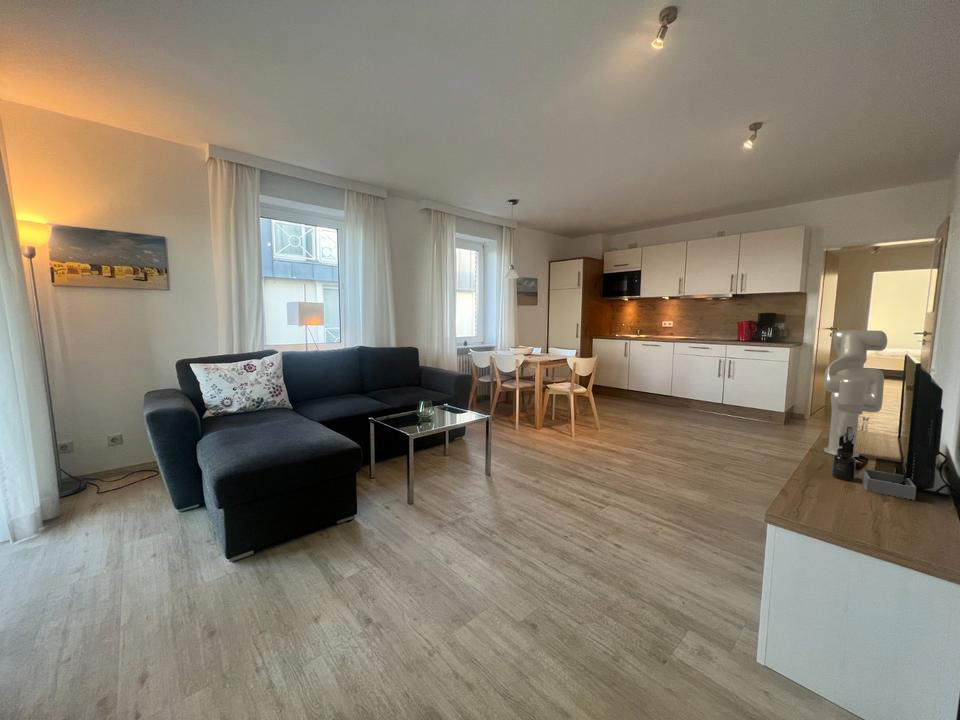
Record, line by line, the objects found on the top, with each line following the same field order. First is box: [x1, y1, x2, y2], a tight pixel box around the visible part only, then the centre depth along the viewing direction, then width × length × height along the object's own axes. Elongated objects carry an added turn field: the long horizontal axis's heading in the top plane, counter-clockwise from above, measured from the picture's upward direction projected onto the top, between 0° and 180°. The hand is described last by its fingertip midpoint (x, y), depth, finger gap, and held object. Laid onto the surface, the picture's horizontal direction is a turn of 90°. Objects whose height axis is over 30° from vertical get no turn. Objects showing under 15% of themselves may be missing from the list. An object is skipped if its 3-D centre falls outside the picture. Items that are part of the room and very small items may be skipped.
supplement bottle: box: [831, 448, 857, 482], centre depth 160 cm, size 7×7×12 cm
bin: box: [860, 468, 917, 501], centre depth 150 cm, size 13×13×5 cm
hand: (845, 449), depth 159 cm, fingers open, 9 cm apart
